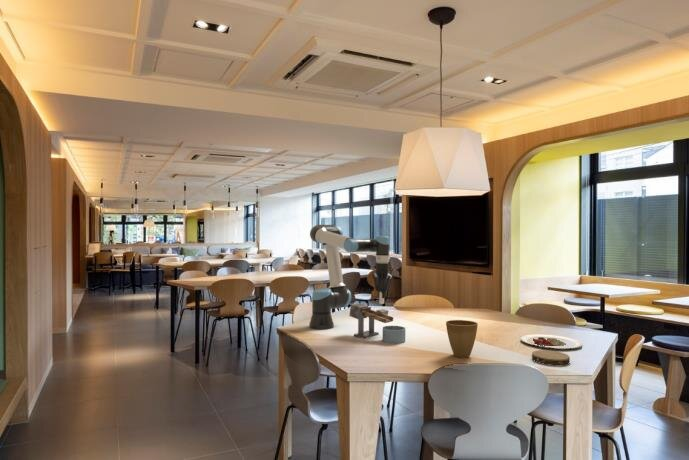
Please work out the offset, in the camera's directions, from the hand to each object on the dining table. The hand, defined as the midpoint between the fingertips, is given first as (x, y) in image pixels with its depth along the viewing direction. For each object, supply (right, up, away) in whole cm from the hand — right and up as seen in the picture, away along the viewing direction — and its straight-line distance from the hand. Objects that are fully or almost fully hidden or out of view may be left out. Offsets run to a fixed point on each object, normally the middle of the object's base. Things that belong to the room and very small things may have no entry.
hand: (381, 303), depth 261 cm
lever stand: (-9, -18, -2) cm, 20 cm away
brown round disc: (+75, -19, -50) cm, 92 cm away
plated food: (+89, -19, -18) cm, 93 cm away
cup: (+5, -18, -14) cm, 24 cm away
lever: (-5, -10, -1) cm, 11 cm away
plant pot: (+35, -18, -43) cm, 58 cm away
